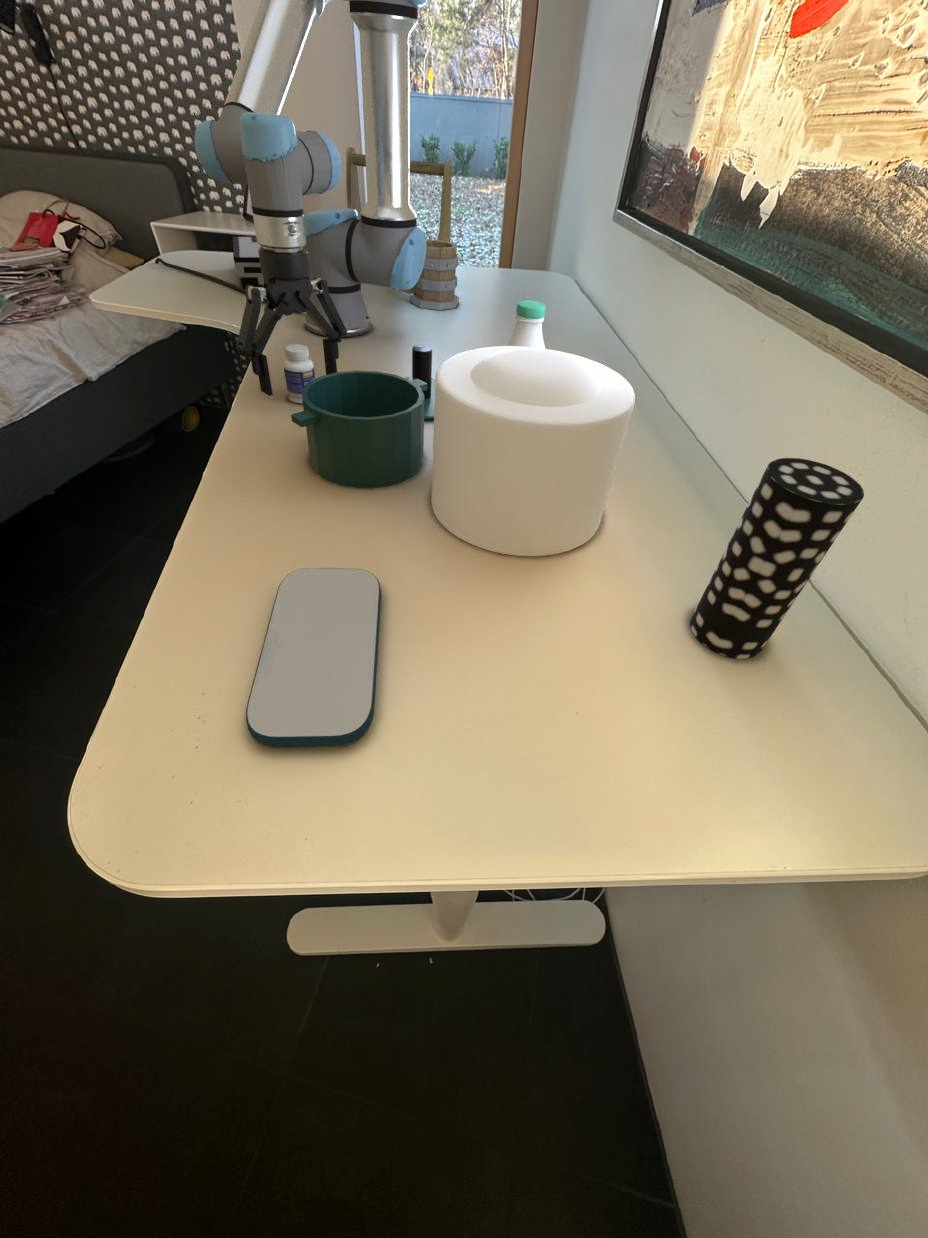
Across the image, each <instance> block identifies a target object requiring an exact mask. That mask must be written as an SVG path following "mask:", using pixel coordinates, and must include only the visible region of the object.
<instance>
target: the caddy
mask: <svg viewBox="0 0 928 1238" xmlns="http://www.w3.org/2000/svg"><path fill="white" fill-rule="evenodd" d="M345 161H346V163H345V164H346V165H345V168H346V170H345V171H346V175H345V177H346V178H345V180H346V181H345V182H346V183H345V184H346V208H349V209H355V210H356V211H357V214H358V219H361V210H362V205H361V195H360V185H359V183H360V182H359V174H358V167H364V168H366V159H365V154H361V153H356V149H355V148H354V147H351V146H350V147H347V148H346V152H345ZM452 166H453V165H452V160H451V159H450V158H446V159H444V162H443V163H438V162H429V161H421V160H409V174H410V173H412V174H422V175H429V176H430V175H431V176H439V177H442V180H441V181H442V182H441V199H440V213H439V226H438V239H437V240H439V241H447V242H450V243H451V231H452V230H451V229H452V228H451V227H452V225H451V224H452V223H451V221H452V220H451V219H452V178H453V177H452V176H453V175H452Z"/></svg>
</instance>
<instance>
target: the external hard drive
mask: <svg viewBox="0 0 928 1238" xmlns="http://www.w3.org/2000/svg"><path fill="white" fill-rule="evenodd" d="M381 608H382V588H381V584H380V581H379V579H378V577H377V576H376V575H375V574H374V573H372V572H371V571H369V570H366V569H361V568H350V567H349V568H343V567H342V568H341V567H340V568H339V567H332V568H331V567H308V568H307V567H306V568H305V567H304V568H299V569H296V570H293V571H291V572H289V573H288V574H286V576H284V577H283V579H282V580H281V582H280V583H279V585H278V588H277V590H276V594H275V599H274V602H273V605H272V610H271V613H270V617H269V621H268V624H267V628H266V632H265V636H264V640H263V644H262V647H261V652H260V653H259V654H260V655H259V659H258V662H257V666H256V670H255V674H254V677H253V681H252V684H251V689H250V692H249V696H248V700H247V703H246V704H247V705H246V709H245V722H246V726H247V729H248V732H249V734H250V736H251V737H252V738H253V740H255V741H256V742H257V743H259V744H261V745H263V746H267V747H270V748H315V747H316V748H318V747H320V748H321V747H323V748H324V747H342V746H347V745H350V744H352V743H356V742H357V741H358V740H360V739H361V738H362V737H364V735H365V734H366V733H367V732H368V731H369V728H370V727H371V725H372V722H373V719H374V716H375V715H374V714H375V706H376V692H377V691H376V690H377V689H376V688H377V672H378V659H379V658H378V657H379V640H380V622H381Z"/></svg>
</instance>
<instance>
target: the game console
mask: <svg viewBox="0 0 928 1238" xmlns="http://www.w3.org/2000/svg"><path fill="white" fill-rule="evenodd" d="M232 243H233V244H232V245H233V251H232V257H233V258H232V259H233V262H234V268H235V274H236V277H237V279H240V281H241V285H242V288H243V289H245V288H246V286H247V285H251V286H253V287H263V284H264V279H263V275H262V272H261V265H260V259H259V252H258V250H259V248H260V247H261V245H259V244H258V243H257V240H256V239H252V236H232ZM303 248H304V249H305V247H303Z"/></svg>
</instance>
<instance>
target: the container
mask: <svg viewBox="0 0 928 1238" xmlns="http://www.w3.org/2000/svg"><path fill="white" fill-rule="evenodd" d="M635 403H636V394H635V391H634V388H633V386H632V385H631V383H630V382H629V381H628V380H627V379H625V378H624V377H623V376H622V374H620V373H618V372H617V371H615V370H613V369H611V368H610V367H608V366H606V365H605V364H602V363H600V362H598V361H595V360H592V359H589V358H586V357H583V356H580V355H576V354H573V353H569V352H565V351H560V350H556V349H549V348H545V349H543V348H534V347H521V346H506V345H500V346H488V347H479V348H474V349H470V350H466V351H462V352H459V353H457V354H455V355H452V356H450V357H449V358H447V359H445V360H444V361H443V362H442V363H440V365H439V366H438V369H437V370H436V373H435V406H434V419H433V437H432V439H433V440H432V442H433V443H432V468H431V469H432V471H431V502H430V503H431V508H432V512H433V513H434V515H435V517H436V519H437V520H438V521H439V523H440V525H442V526H443V527H444V528H445V529H446V530H447V531H448V532H450V533H451V534H452V535H454V536H455V537H457V538H459V540H460V539H461V540H462V541H464V542H465V543H468V544H470V545H472V546H475V547H477V548H481V549H483V550H486V551H489V552H494V553H498V554H503V555H508V556H519V557H542V556H543V557H545V556H552V555H557V554H562V553H564V552H569V551H573V550H574V549H577V548H578V547H581V546H582V545H584V544H586V543H587V542H589V541H590V540H591V539H592V538H593V537H594V535H595V534H596V533H597V531H598V529H599V528H600V525H601V521H602V518H603V515H604V511H605V507H606V504H607V501H608V498H609V493H610V490H611V487H612V484H613V480H614V476H615V473H616V469H617V466H618V462H619V458H620V456H621V452H622V449H623V445H624V442H625V439H626V435H627V432H628V428H629V425H630V422H631V417H632V415H633V410H634V407H635Z"/></svg>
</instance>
